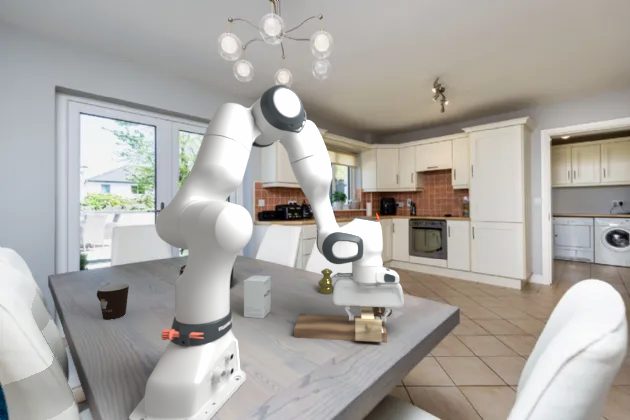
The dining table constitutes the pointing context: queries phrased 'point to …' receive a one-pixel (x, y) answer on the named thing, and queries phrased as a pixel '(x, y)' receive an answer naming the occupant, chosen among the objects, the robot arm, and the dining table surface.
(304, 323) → the board
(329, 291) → the gold metal tiered piece
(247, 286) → the supplement box
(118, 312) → the coffee mug
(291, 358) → the dining table surface
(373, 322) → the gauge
